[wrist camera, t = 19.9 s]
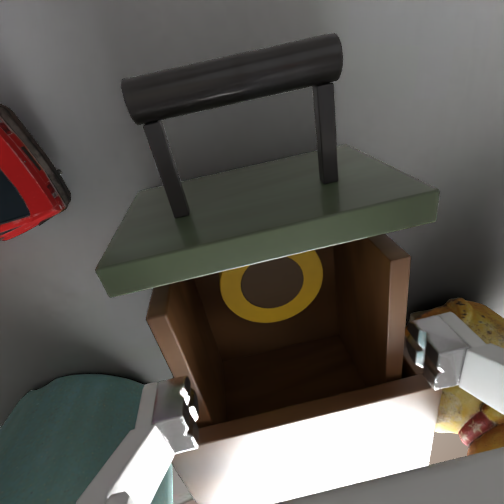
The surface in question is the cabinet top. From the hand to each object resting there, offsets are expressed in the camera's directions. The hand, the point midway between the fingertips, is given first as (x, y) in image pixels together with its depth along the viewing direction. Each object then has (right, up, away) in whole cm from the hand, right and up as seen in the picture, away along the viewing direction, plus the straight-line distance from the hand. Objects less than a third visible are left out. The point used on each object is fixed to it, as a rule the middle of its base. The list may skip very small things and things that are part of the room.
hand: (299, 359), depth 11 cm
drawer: (-1, +5, +8) cm, 9 cm away
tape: (-1, +4, +7) cm, 8 cm away
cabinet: (+1, -5, +14) cm, 15 cm away
